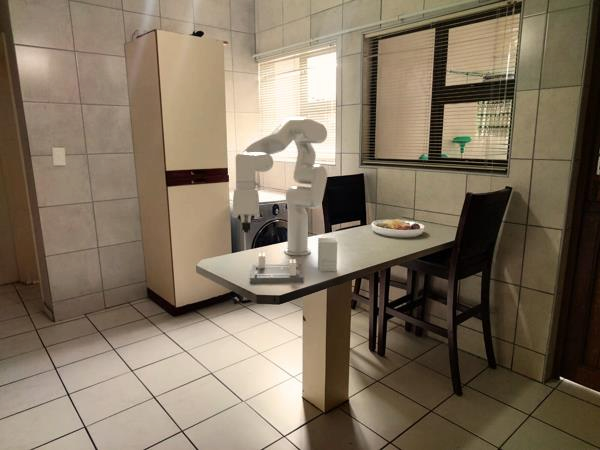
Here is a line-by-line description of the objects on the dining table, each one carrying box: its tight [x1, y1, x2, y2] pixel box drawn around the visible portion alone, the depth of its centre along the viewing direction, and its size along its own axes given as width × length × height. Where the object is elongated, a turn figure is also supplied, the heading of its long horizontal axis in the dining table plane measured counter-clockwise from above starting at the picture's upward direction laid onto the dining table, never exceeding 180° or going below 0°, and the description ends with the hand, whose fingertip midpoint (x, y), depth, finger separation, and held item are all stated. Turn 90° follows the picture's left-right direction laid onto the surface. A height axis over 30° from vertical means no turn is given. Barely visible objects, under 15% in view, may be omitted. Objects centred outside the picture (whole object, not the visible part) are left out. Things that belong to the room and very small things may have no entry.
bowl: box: [371, 218, 425, 238], centre depth 235 cm, size 30×30×8 cm
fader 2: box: [288, 258, 297, 276], centre depth 154 cm, size 5×2×5 cm, turn 3°
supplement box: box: [317, 237, 338, 272], centre depth 167 cm, size 7×7×13 cm
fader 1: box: [258, 252, 266, 268], centre depth 162 cm, size 5×2×5 cm, turn 3°
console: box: [249, 262, 304, 284], centre depth 159 cm, size 16×20×3 cm
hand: (246, 231), depth 159 cm, fingers closed
